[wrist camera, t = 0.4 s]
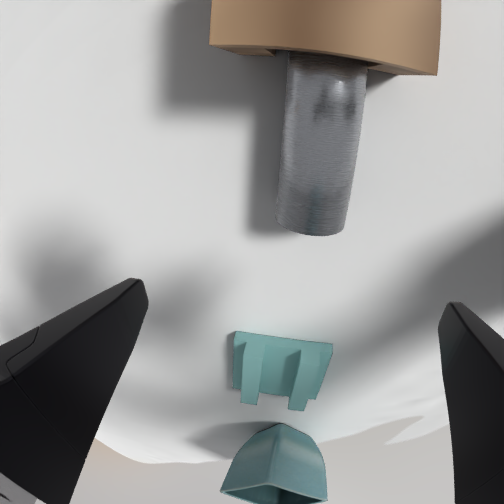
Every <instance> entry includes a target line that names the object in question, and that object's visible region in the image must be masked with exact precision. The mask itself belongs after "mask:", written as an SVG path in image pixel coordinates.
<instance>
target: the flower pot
mask: <svg viewBox="0 0 504 504" xmlns="http://www.w3.org/2000/svg"><path fill="white" fill-rule="evenodd" d="M220 492H221V493H224V494H226V495H229V496H232V497H235V498H238V499H241V500H244V501H247V502H250V503H253V504H316V503H321V502H325V501H328V499H327V483H326V470H325V464H324V460H323V457H322V455H321V452H320V450H319V448H318V447H317V445H316V444H315V442H314V441H313V439H312V438H311V437H310V436H308V435H306V434H304V433H301V432H299V431H297V430H295V429H293V428H291V427H289V426H287V425H285V424H278V425H275V426H273V427H271V428H269V429H266V430H264V431H261V432H259V433H256V434H255V435H254V436H253V437H251V438H250V439H249V440H248V441H247V442H246V443H245V444H244V445H243V446H242V448H241V449H240V450H239V451H238V453H237V454H236V456H235V458H234V459H233V462H232V464H231V466H230V468H229V471H228V473H227V475H226V478H225V480H224V482H223V485H222V487H221V490H220Z"/></svg>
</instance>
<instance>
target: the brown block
mask: <svg viewBox="0 0 504 504" xmlns="http://www.w3.org/2000/svg"><path fill="white" fill-rule="evenodd" d="M440 30H441V0H212V5H211V21H210V38H209V45H211V46H215V47H218V48H221V49H224V50H227V51H230V52H233V53H236V54H239V55H261V56H275V54H276V49H284V50H295V51H305V52H314V53H322V54H330V55H336V56H343V57H349V58H355V59H360V60H366V61H368V69H373V70H378V71H382V72H387V73H391V74H396V75H435V76H437V71H438V60H439V48H440Z"/></svg>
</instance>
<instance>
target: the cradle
mask: <svg viewBox="0 0 504 504" xmlns="http://www.w3.org/2000/svg"><path fill="white" fill-rule="evenodd" d="M331 356H332V344H328V343H319V342H310V341H302V340H294V339H287V338H279V337H272V336H265V335H259V334H252V333H246V332H239V331H236V334H235V337H234V354H233V388H236V389H241V403H247V404H254V405H257V401H258V396H259V392H260V393H266V394H273V395H281V396H289V404H288V409H289V410H298V411H304V409H305V406H306V404H307V401H308V399H315V400H316V397H317V394H318V392H319V389H320V386H321V384H322V381H323V378H324V376H325V373H326V370H327V367H328V364H329V361H330V359H331Z"/></svg>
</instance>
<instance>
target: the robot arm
mask: <svg viewBox="0 0 504 504" xmlns="http://www.w3.org/2000/svg"><path fill="white" fill-rule="evenodd" d="M147 309H148V297H147V294H146V290H145V286H144V283H143V281H142V280H141V279H135V278H129V279H126V280H125V281H123V282H121V283H119V284H117V285H115V286H113V287H111V288H109V289H107V290H105V291H103V292H101V293H99V294H98V295H96V296H94V297H92V298H90V299H88V300H86V301H84V302H82V303H80V304H79V305H77V306H75V307H73V308H71V309H69V310H67V311H65V312H64V313H62V314H60V315H58V316H56V317H54V318H52V319H51V320H49V321H47V322H45V323H43V324H41V325H40V327H39V326H38V327H36V328H34V329H32V330H30V331H28V332H27V333H25V334H23V335H21V336H19V337H17V338H15V339H13V340H11V341H9V342H7V343H5V344H3V345H1V346H0V504H35V502H36V499H37V498H38V499H39V500H41V501H43V502H44V503H46V504H69V503H70V500H71V497H72V495H73V492H74V489H75V486H76V484H77V481H78V478H79V476H80V473H81V471H82V468H83V465H84V463H85V459H86V457H87V454H88V452H89V450H90V447H91V445H92V442H93V440H94V437H95V435H96V432H97V430H98V428H99V425H100V423H101V420H102V418H103V416H104V413H105V411H106V409H107V406H108V404H109V402H110V399H111V397H112V395H113V393H114V390H115V388H116V386H117V384H118V381H119V379H120V377H121V375H122V372H123V370H124V368H125V366H126V364H127V362H128V359H129V357H130V355H131V353H132V351H133V348H134V346H135V343H136V340H137V337H138V335H139V332H140V329H141V326H142V323H143V320H144V317H145V315H146V312H147ZM438 334H439V343H440V353H441V364H442V375H443V382H444V388H445V394H446V400H447V407H448V414H449V422H450V431H451V440H452V452H453V465H454V484H455V485H454V488H455V504H504V339H503V338H502V337H501V336H500V335H499V334H498V333H496V332H495V331H494V330H493V329H492V328H491V327H490V326H488V325H487V324H486V323H485V322H484V321H483V320H481V319H480V318H479V317H478V316H477V315H476V314H474V313H473V312H472V311H471V310H470V309H468V308H467V307H466V306H465V305H464V304H462V303H461V302H449V303H448V304H447V305H446V307H445V310H444V312H443V315H442V317H441V320H440V322H439V326H438Z"/></svg>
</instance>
